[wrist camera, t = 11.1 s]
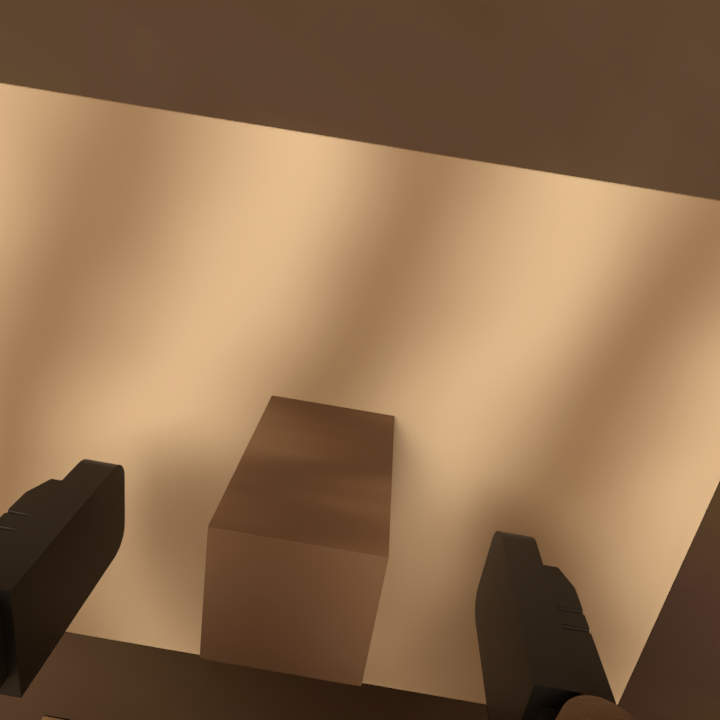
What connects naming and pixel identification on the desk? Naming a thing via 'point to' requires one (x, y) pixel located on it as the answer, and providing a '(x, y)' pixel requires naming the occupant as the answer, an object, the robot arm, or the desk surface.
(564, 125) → the desk surface
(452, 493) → the lid
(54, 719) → the box
